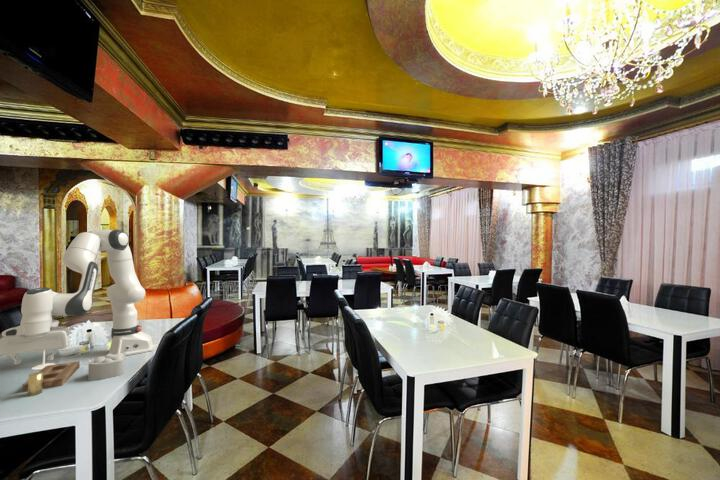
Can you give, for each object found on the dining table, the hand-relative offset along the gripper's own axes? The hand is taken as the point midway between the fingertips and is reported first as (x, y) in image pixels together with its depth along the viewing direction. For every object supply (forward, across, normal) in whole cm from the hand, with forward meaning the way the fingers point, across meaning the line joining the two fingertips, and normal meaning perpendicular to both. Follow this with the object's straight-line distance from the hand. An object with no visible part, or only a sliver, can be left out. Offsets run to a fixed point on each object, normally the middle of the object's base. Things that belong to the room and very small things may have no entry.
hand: (34, 362), depth 121 cm
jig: (+13, -2, -15) cm, 20 cm away
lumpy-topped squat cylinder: (+13, -22, -10) cm, 27 cm away
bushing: (+13, -1, 0) cm, 13 cm away
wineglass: (+13, +9, -36) cm, 39 cm away
